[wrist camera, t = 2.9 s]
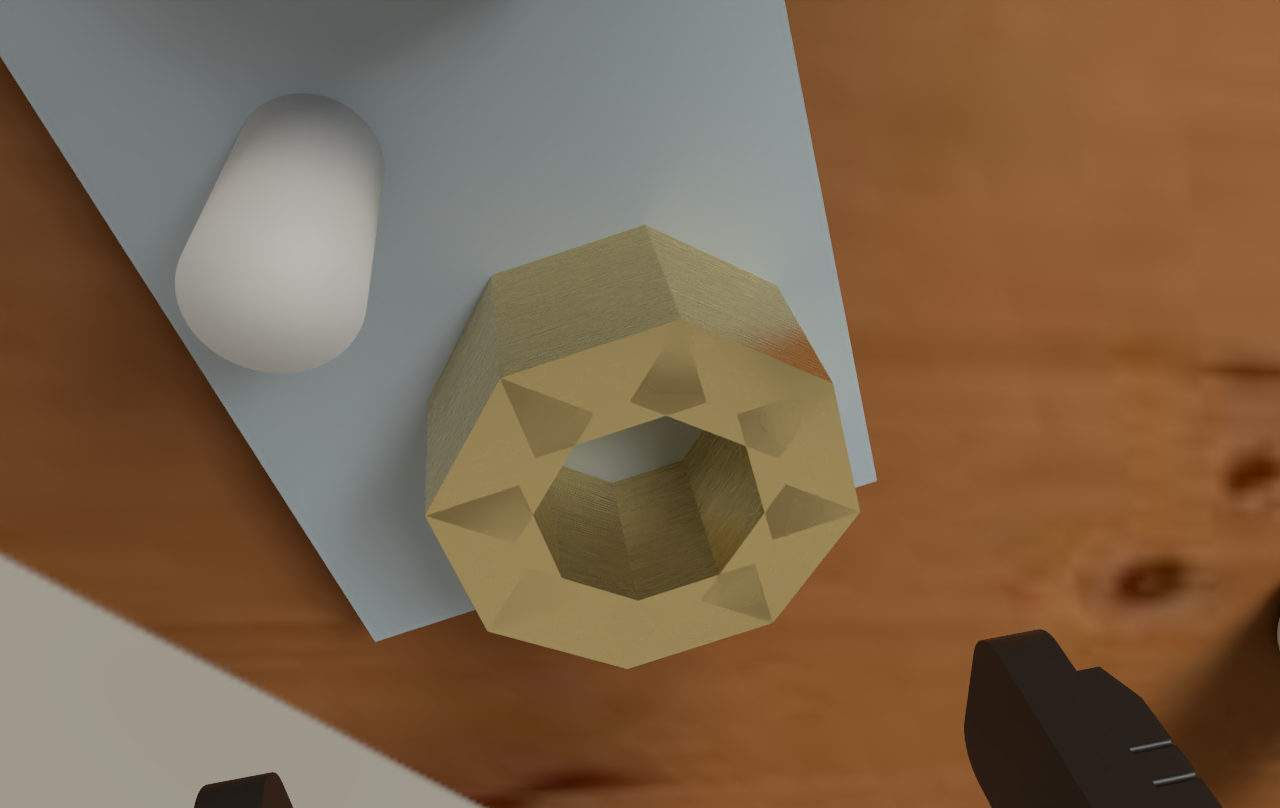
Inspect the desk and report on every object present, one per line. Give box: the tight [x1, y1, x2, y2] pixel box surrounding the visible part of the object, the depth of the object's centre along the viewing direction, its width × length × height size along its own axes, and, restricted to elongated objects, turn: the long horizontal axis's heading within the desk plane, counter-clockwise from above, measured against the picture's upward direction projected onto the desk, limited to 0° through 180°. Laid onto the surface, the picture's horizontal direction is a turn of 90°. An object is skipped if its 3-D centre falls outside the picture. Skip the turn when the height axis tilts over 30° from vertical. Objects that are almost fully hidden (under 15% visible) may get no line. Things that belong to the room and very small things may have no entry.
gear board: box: [0, 0, 877, 642], centre depth 14 cm, size 10×18×6 cm, turn 16°
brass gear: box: [425, 225, 860, 669], centre depth 17 cm, size 6×6×3 cm
